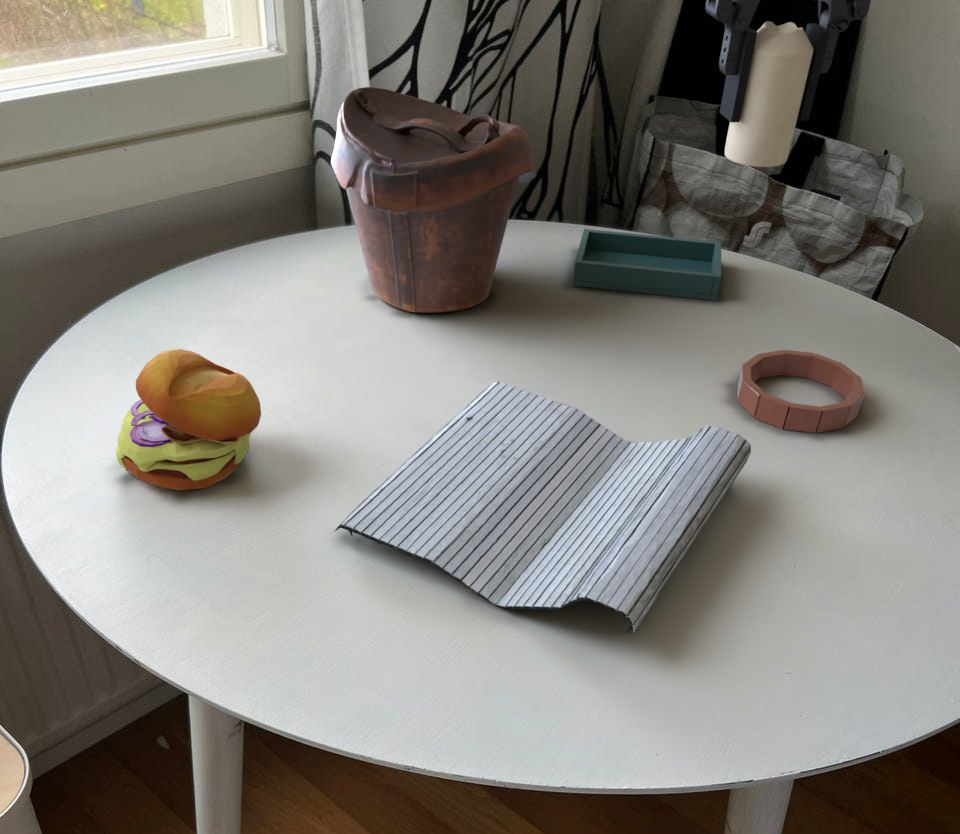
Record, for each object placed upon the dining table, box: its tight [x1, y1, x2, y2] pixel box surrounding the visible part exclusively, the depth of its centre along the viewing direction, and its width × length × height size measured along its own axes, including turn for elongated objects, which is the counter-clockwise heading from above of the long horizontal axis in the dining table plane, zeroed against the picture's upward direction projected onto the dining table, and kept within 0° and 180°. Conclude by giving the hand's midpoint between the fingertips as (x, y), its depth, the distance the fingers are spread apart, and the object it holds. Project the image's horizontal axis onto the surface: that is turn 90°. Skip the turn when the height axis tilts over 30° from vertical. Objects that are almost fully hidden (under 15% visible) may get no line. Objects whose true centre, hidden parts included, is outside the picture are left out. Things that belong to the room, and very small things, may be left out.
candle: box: [724, 20, 814, 168], centre depth 80 cm, size 6×6×10 cm
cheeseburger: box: [115, 348, 262, 491], centre depth 74 cm, size 10×11×10 cm
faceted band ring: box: [736, 349, 866, 434], centre depth 86 cm, size 11×11×2 cm
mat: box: [333, 381, 752, 634], centre depth 72 cm, size 23×24×5 cm
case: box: [330, 86, 537, 314], centre depth 95 cm, size 18×20×18 cm
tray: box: [572, 228, 722, 302], centre depth 104 cm, size 15×9×3 cm, turn 80°
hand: (763, 115), depth 81 cm, fingers closed on candle, 5 cm apart
